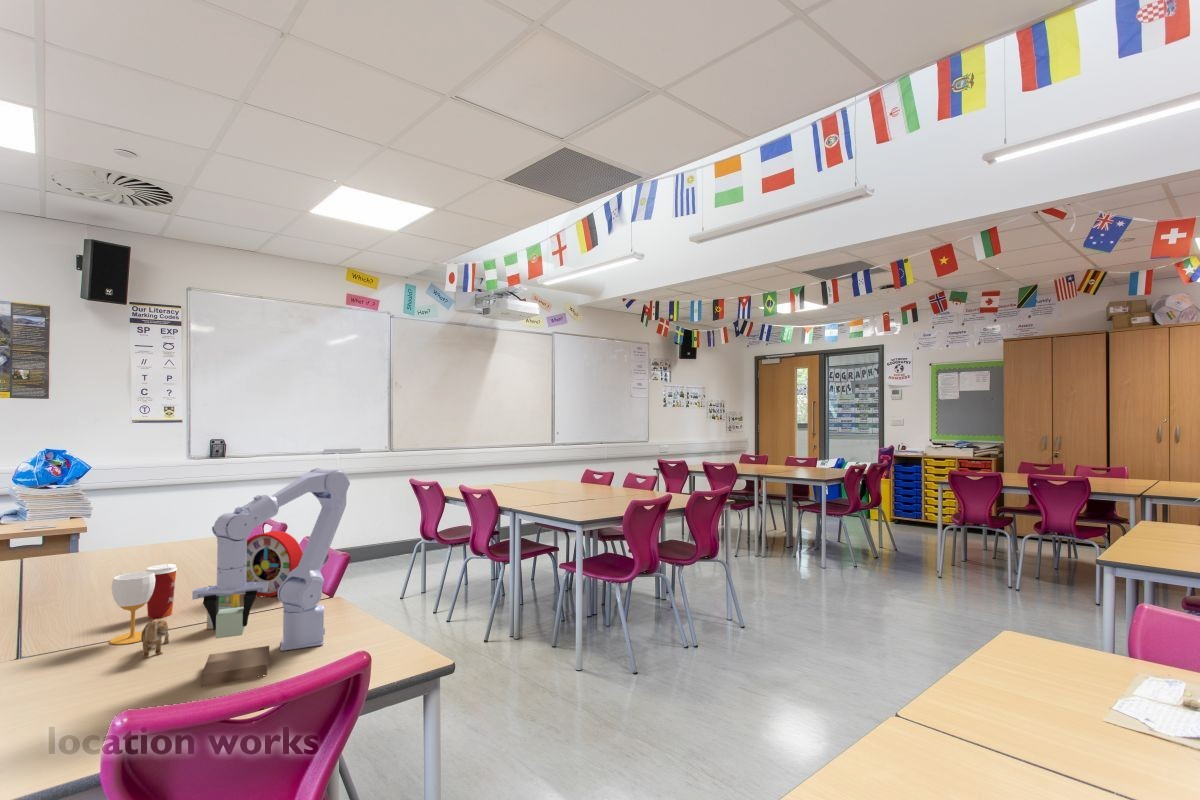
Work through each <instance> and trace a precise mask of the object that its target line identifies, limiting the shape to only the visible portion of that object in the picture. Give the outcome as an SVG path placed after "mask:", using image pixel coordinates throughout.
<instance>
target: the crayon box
mask: <svg viewBox="0 0 1200 800" xmlns="http://www.w3.org/2000/svg"><path fill="white" fill-rule="evenodd" d="M210 586H211V585H208V586H207V587H210ZM240 595H241V594H233V595H224V596H219V608H218V612H219V610H220V609H228V608H237V607H240ZM206 612H207V613H206V629H207V630H213V624H212V621H211V618H210V615H209V613H208V611H207V610H206Z"/></svg>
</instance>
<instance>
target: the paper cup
mask: <svg viewBox="0 0 1200 800" xmlns="http://www.w3.org/2000/svg"><path fill="white" fill-rule="evenodd" d="M177 570H178V568H177V565H176V564H174V563H163V564H156V565H152V566H148V567H146V570H145V572H153V573H154V574H155V587H154V590H153V593H152V596H151V597H150V599H149V601H148V602H147V603H146V608H147V609H146V610H147V617H148V619H152V620H155V619H162V618H167V617H169V616H171V615H172V614H173V609H174V608H173V607H174V598H175V588H176V576H177Z"/></svg>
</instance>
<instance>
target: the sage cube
mask: <svg viewBox="0 0 1200 800" xmlns="http://www.w3.org/2000/svg"><path fill="white" fill-rule="evenodd" d="M243 615H244V606H239V607H237V608H228V609H220V610H219V612H218V614H217V615H216V630H215V640H216V639H224V638H230V637H231V638H232V637H238V636H240V637H241V636H243V633H244V631H245V628H246V626H244V627H243Z"/></svg>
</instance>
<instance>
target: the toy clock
mask: <svg viewBox="0 0 1200 800" xmlns="http://www.w3.org/2000/svg"><path fill="white" fill-rule="evenodd" d="M303 553H304V551H303V550H302V546H301V545H300V544H299V542H298V541H297V539H296V538H295V537H294V536H292V535H291V534H290V533H288V532H285V531H281V530H272V531H267V532H264V533H260V534H256V535H253V536H251V537H249V538H247V563H246V565H247V566H246V582H266V581H268V591H267V592H258V594H257V596H256V597H259V596H263V597H262V598H269V597H272V596H275V595H278V589H279V587H280V585H281V584H282V583H283V582H284V581H285V580H286V578H287V576H288V574H289V572H291V571H292V570H293V569H295V568H296V567H297V566H298V565H299V562H300V560H301V558H302V555H303ZM264 596H265V597H264ZM267 596H268V597H267Z"/></svg>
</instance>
